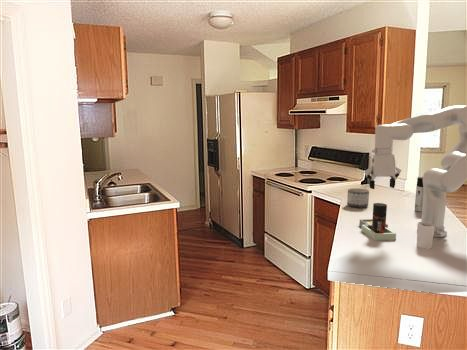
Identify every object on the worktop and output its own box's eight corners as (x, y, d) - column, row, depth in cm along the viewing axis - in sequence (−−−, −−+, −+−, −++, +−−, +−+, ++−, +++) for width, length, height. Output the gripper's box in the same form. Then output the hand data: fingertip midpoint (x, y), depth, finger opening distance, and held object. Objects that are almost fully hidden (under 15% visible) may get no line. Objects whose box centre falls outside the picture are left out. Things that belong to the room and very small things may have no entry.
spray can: (415, 208, 215) (418, 176, 212) (428, 210, 211) (431, 177, 208) (413, 210, 210) (415, 178, 207) (425, 212, 206) (428, 179, 203)
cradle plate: (383, 228, 175) (384, 225, 175) (369, 228, 175) (369, 225, 174) (376, 223, 182) (376, 221, 182) (362, 224, 182) (363, 221, 182)
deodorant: (381, 232, 171) (383, 202, 168) (387, 236, 165) (389, 206, 163) (369, 233, 171) (371, 203, 168) (374, 237, 165) (376, 206, 162)
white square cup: (413, 246, 153) (415, 224, 151) (418, 242, 158) (420, 220, 156) (430, 250, 148) (432, 227, 147) (435, 246, 153) (437, 224, 151)
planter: (368, 209, 215) (369, 192, 213) (346, 207, 219) (347, 191, 217) (367, 204, 226) (368, 188, 225) (347, 203, 230) (348, 187, 229)
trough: (395, 239, 161) (396, 233, 161) (374, 240, 160) (375, 234, 160) (380, 230, 175) (381, 224, 174) (361, 230, 174) (361, 224, 174)
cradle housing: (387, 230, 174) (387, 224, 174) (368, 231, 173) (368, 225, 173) (377, 224, 184) (378, 219, 184) (359, 225, 183) (359, 219, 183)
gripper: (369, 153, 157) (367, 190, 160) (406, 151, 158) (404, 188, 161) (361, 151, 164) (360, 187, 167) (397, 150, 166) (395, 185, 168)
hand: (382, 188), depth 164 cm, fingers open, 9 cm apart
